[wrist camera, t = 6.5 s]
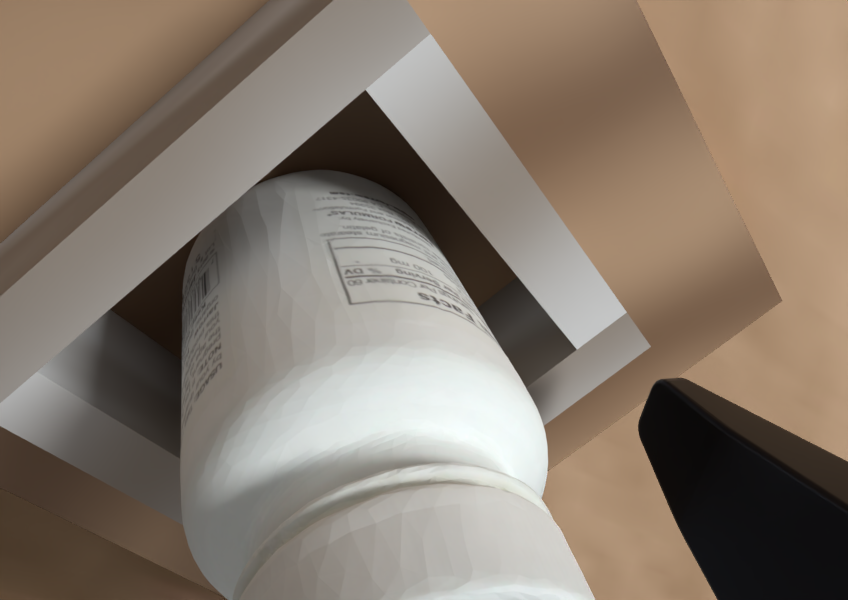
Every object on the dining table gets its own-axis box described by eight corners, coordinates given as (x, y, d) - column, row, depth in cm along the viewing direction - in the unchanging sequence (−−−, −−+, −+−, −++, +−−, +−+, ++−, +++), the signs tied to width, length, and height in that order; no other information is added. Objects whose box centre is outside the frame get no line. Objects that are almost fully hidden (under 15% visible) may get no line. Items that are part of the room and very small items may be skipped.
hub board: (748, 274, 17) (868, 366, 14) (307, 600, 19) (329, 742, 16) (298, -602, 8) (363, -873, 5) (-455, 193, 10) (-739, 344, 7)
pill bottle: (263, 416, 14) (326, 892, 8) (127, 241, 11) (49, 742, 5) (465, 314, 14) (696, 705, 8) (375, 116, 11) (612, 458, 5)
